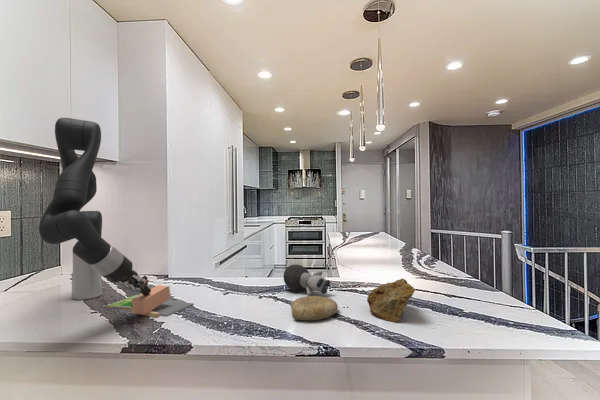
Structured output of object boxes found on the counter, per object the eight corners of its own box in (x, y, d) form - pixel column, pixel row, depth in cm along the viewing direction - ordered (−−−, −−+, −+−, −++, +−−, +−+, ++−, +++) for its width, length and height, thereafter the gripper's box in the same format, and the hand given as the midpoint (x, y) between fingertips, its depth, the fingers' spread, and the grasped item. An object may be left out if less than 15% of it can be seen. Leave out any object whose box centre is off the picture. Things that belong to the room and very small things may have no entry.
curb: (130, 312, 99) (130, 309, 99) (132, 311, 100) (132, 308, 100) (157, 317, 94) (157, 313, 94) (159, 316, 95) (159, 312, 95)
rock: (375, 306, 108) (354, 290, 106) (402, 274, 107) (382, 258, 105) (397, 340, 89) (372, 321, 87) (431, 302, 88) (407, 283, 86)
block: (131, 299, 96) (159, 284, 106) (134, 312, 96) (161, 296, 106) (141, 301, 94) (169, 285, 104) (144, 314, 95) (171, 297, 105)
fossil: (343, 323, 89) (342, 307, 89) (292, 325, 88) (292, 309, 88) (332, 303, 106) (332, 290, 106) (289, 305, 105) (289, 292, 105)
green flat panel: (106, 309, 105) (130, 311, 102) (106, 304, 105) (130, 307, 102) (149, 292, 124) (170, 294, 122) (149, 289, 124) (170, 290, 122)
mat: (131, 310, 102) (131, 308, 102) (160, 299, 113) (160, 298, 113) (166, 316, 95) (166, 315, 95) (193, 304, 106) (193, 303, 106)
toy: (338, 284, 121) (298, 271, 132) (329, 268, 113) (287, 256, 125) (327, 308, 115) (286, 293, 127) (317, 293, 108) (274, 279, 119)
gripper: (134, 253, 87) (169, 284, 98) (104, 251, 92) (140, 280, 104) (117, 276, 82) (156, 306, 94) (86, 272, 87) (126, 301, 99)
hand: (147, 292), depth 99 cm, fingers closed
